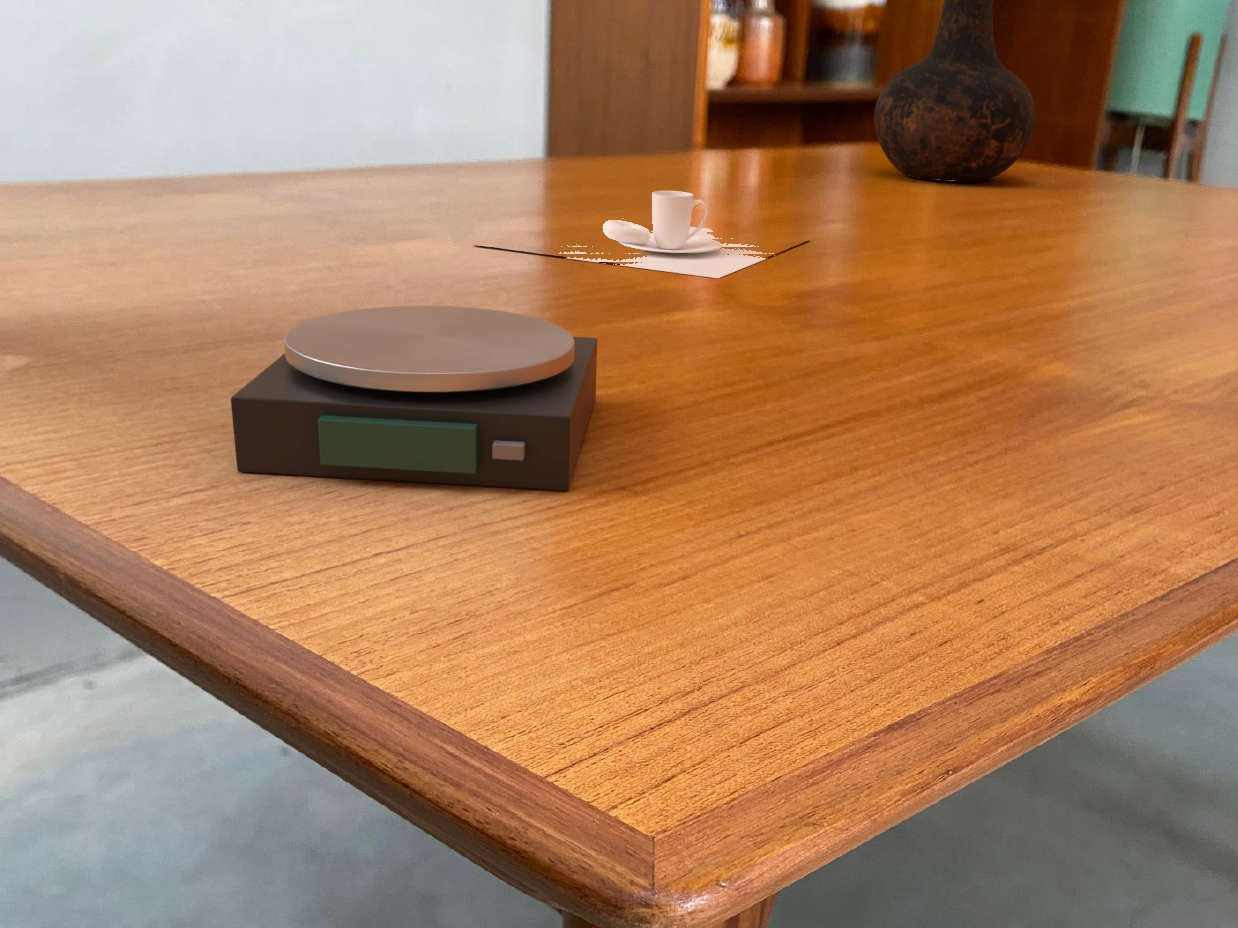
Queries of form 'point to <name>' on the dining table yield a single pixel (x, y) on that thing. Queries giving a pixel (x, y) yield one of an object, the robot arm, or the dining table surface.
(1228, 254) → the dining table surface
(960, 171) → the rusty bud vase
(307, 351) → the scale pan
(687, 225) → the teacup and saucer
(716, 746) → the dining table surface
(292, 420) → the scale
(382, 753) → the dining table surface
